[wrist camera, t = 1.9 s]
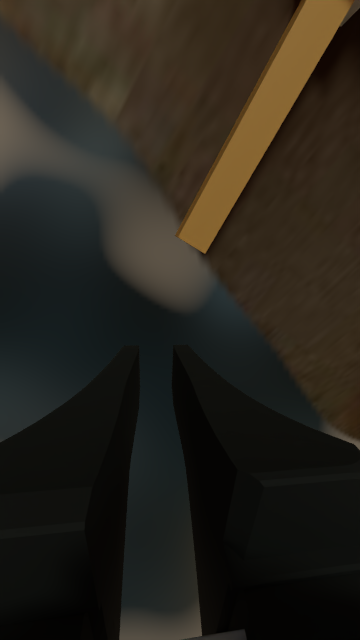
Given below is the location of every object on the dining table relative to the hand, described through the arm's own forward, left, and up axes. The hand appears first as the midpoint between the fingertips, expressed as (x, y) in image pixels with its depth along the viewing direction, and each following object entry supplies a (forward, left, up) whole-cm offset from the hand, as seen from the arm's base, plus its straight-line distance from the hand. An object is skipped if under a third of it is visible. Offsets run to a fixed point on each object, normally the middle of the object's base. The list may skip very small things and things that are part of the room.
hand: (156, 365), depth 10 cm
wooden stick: (0, -14, -8) cm, 16 cm away
